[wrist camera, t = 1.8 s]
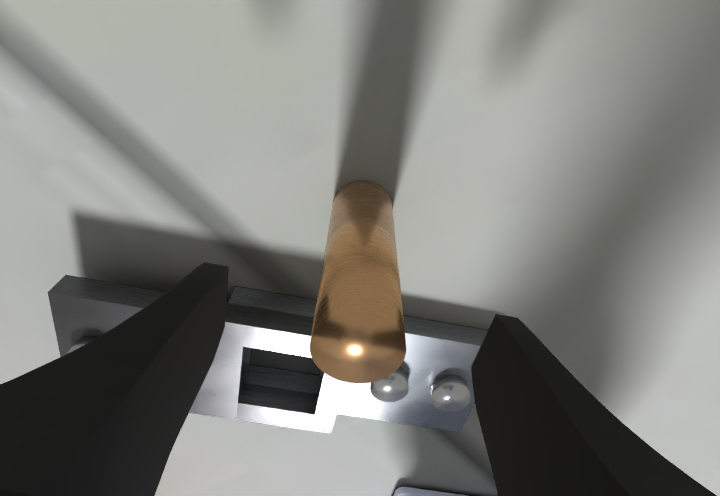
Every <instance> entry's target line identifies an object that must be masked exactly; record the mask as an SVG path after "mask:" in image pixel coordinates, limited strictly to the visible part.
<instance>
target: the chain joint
mask: <svg viewBox="0 0 720 496" xmlns="http://www.w3.org/2000/svg"><path fill="white" fill-rule="evenodd" d="M164 293H165V292H163V291H157V290H151V289H145V288H140V287H134V286H128V285H122V284H116V283H110V282H105V281H99V280H93V279H87V278H81V277H75V276H70V275H65V276H64V277H63V278H62V279H61V280H60V281H59V282H58V283H57V284H56V285H55V286H54V287H53V288H52V289H51V290H50V291H49V292H48V296H49V301H50V306H51V311H52V316H53V321H54V326H55V331H56V336H57V341H58V346H59V351H60V356H61V357H62V356H64V355H66V354H68V353H70V352H72V351H74V350H76V349H78V348H80V347H81V346H83V345H85V344H87V343H89V342H91V341H92V340H94V339H96V338H98V337H99V336H101V335H103V334H104V333H106V332H108V331H109V330H111V329H113V328H114V327H116V326H117V325H119V324H120V323H122V322H123V321H125V320H126V319H128V318H129V317H131V316H133V315H134V314H136V313H137V312H139V311H140V310H142V309H143V308H144V307H146V306H147V305H149V304H150V303H151V302H153V301H154V300H156V299H157V298H158V297H160V296H161V295H162V294H164ZM316 304H317V300H312V299H306V298H300V297H295V296H289V295H283V294H278V293H272V292H266V291H260V290H255V289H249V288H243V287H237V286H236V287H235V289H234V291H233V293H232V296H231V298H230V300H229V302H228V303H227V302H226V317H225V328H224V331H223V334H222V337H221V340H220V343H219V346H218V349H217V352H216V355H215V358H214V361H213V363H212V365H211V367H210V369H209V371H208V373H207V376H206V378H205V380H204V382H203V384H202V386H201V388H200V390H199V392H198V394H197V397H196V399H195V401H194V403H193V405H192V407H191V409H190V411H189V413H195V414H202V415H209V416H215V417H222V418H229V419H236V420H242V421H249V422H256V423H263V424H269V425H276V426H283V427H290V428H296V429H303V430H310V431H316V432H323V433H330V434H331V433H332V429H333V426H334V422H335V418H336V415H337V414H343V415H349V416H356V417H362V418H369V419H376V420H382V421H389V422H395V423H402V424H408V425H415V426H421V427H428V428H435V429H441V430H448V431H454V432H460V430H461V428H462V426H463V424H464V422H465V420H466V418H467V416H468V415H469V413H470V411H471V409H472V407H473V405H474V403H475V399H474V392H473V384H472V373H471V366H472V364H473V362H474V360H475V357H476V355H477V353H478V351H479V349H480V347H481V345H482V343H483V341H484V338H485V336H486V334H487V332H488V330H483V329H478V328H472V327H466V326H460V325H455V324H449V323H443V322H438V321H432V320H426V319H420V318H415V317H409V316H403V319H404V329H405V339H406V355H405V358H404V361H403V363H402V364H401V366H400V367H399V368H398V369H397V370H396V371H395V372H394V373H392V374H391V375H389V376H388V377H386V378H384V379H381V380H379V381H375V382H370V383H362V384H358V383H347V382H343V381H340V380H337V379H334V378H332V377H330V376H328V375H327V374H325V373H324V372H322V371H321V372H320V376H319V375H313V374H306V373H300V372H294V371H288V370H281V369H275V368H269V367H263V366H256V365H250V358H251V349H252V348H255V349H261V350H267V351H273V352H279V353H285V354H291V355H297V356H304V357H310V358H312V357H311V353H310V340H311V334H312V328H313V322H314V316H315V310H316Z"/></svg>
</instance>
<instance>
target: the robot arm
mask: <svg viewBox="0 0 720 496" xmlns="http://www.w3.org/2000/svg"><path fill="white" fill-rule="evenodd" d="M228 268H229V267H227V266H221V265H216V264H210V263H203V264H202V265H200V266H199V267H197V268H196V269H195V270H194V271H192V272H191V273H190V274H189V275H187V276H186V277H185V278H183V279H182V280H181V281H180V282H178V283H177V284H176V285H174V286H173V287H172V288H171V289H169V290H168V291H167V292H165V293H164V294H162V295H161V296H160V297H158V298H157V299H156V300H154V301H153V302H151V303H150V304H149V305H147V306H146V307H144V308H143V309H142V310H140V311H139V312H137V313H136V314H134V315H133V316H131V317H129V318H128V319H126V320H125V321H123V322H122V323H120V324H119V325H117V326H116V327H114V328H113V329H111V330H109V331H108V332H106V333H104V334H103V335H101V336H99V337H98V338H96V339H94V340H92V341H91V342H89V343H87V344H85V345H83V346H81V347H80V348H78V349H76V350H74V351H72V352H70V353H68V354H66V355H64V356H62V357H60V358H58V359H56V360H54V361H52V362H50V363H47V364H45V365H43V366H41V367H39V368H37V369H34V370H32V371H30V372H28V373H26V374H24V375H22V376H19V377H17V378H15V379H13V380H10V381H8V382H5V383H3V384H1V385H0V496H154V495H155V492H156V490H157V487H158V484H159V482H160V479H161V476H162V473H163V471H164V468H165V465H166V462H167V460H168V457H169V455H170V452H171V450H172V448H173V445H174V443H175V441H176V438H177V436H178V434H179V432H180V430H181V428H182V426H183V424H184V422H185V419H186V417H187V415H188V413H189V411H190V409H191V407H192V405H193V403H194V401H195V399H196V397H197V394H198V392H199V390H200V388H201V386H202V384H203V382H204V380H205V378H206V376H207V373H208V371H209V369H210V367H211V365H212V363H213V361H214V358H215V355H216V352H217V349H218V346H219V343H220V340H221V337H222V334H223V331H224V328H225V317H226V301H227V284H228ZM471 373H472V384H473V392H474V399H475V405H476V409H477V413H478V417H479V421H480V425H481V429H482V433H483V437H484V441H485V444H486V448H487V452H488V456H489V460H490V464H491V467H492V471H493V475H494V479H495V483H496V487H497V492H498V496H716V495H715V494H713V493H712V492H711V491H709V490H708V489H706V488H705V487H703V486H702V485H701V484H699V483H698V482H696V481H695V480H694V479H692V478H691V477H690V476H688V475H687V474H686V473H684V472H683V471H682V470H680V469H679V468H678V467H676V466H675V465H674V464H672V463H671V462H669V461H668V460H667V459H665V458H664V457H663V456H662V455H660V454H659V453H658V452H657V451H655V450H654V449H653V448H652V447H650V446H649V445H648V444H647V443H645V442H644V441H643V440H642V439H641V438H639V437H638V436H637V435H636V434H635V433H634V432H632V431H631V430H630V429H629V428H628V427H626V426H625V425H624V424H623V423H622V422H621V421H620V420H618V419H617V418H616V417H615V416H614V415H613V414H612V413H611V412H610V411H608V410H607V409H606V408H605V407H604V406H603V405H602V404H601V403H600V402H599V401H598V400H597V399H596V398H595V397H594V396H593V395H592V394H591V393H590V392H589V391H588V390H587V389H586V388H585V387H584V386H583V385H582V384H581V383H580V382H579V381H578V380H577V379H576V378H575V377H574V376H573V375H572V374H571V373H570V372H569V371H568V370H567V369H566V368H565V367H564V366H563V365H562V364H561V363H560V362H559V361H558V360H557V359H556V357H555V356H554V355H553V354H552V353H551V352H550V351H549V350H548V349H547V348H546V347H545V346H544V345H543V344H542V342H541V341H540V340H539V339H538V338H537V337H536V336H535V335H534V334H533V333H532V332H531V331H530V330H529V329H528V328H527V327H526V326H525V325H524V324H523V323H522V322H521V321H520V320H519V319H518V318H515V317H509V316H503V315H498V314H496V315H495V317H494V320H493V322H492V324H491V326H490V328H489V330H488V332H487V334H486V336H485V338H484V341H483V343H482V345H481V347H480V349H479V351H478V353H477V355H476V357H475V360H474V362H473V364H472V366H471ZM393 496H467V495H460V494H453V493H446V492H439V491H431V490H424V489H417V488H410V487H399V488H398V489H397V490H396V491H395V493H394V495H393Z"/></svg>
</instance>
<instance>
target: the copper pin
mask: <svg viewBox="0 0 720 496" xmlns="http://www.w3.org/2000/svg"><path fill="white" fill-rule="evenodd" d="M310 353H311V357H312V359H313V361H314V363H315V364H316V365H317V367H318V368H319V369H320V370H321V371H322V372H324V373H325V374H327V375H328V376H330V377H332V378H334V379H337V380H340V381H343V382H347V383H358V384H362V383H370V382H375V381H379V380H381V379H384V378H386V377H388V376H389V375H391V374H392V373H394V372H395V371H396V370H397V369H398V368H399V367H400V366H401V364H402V363H403V361H404V358H405V355H406V339H405V329H404V319H403V309H402V299H401V289H400V279H399V269H398V259H397V249H396V240H395V230H394V220H393V210H392V202H391V199H390V197H389V195H388V193H387V192H386V191H385V190H384V189H383V188H382V187H381V186H379V185H377V184H375V183H373V182H369V181H356V182H352V183H349V184H347V185H346V186H344V187H343V188H342V189H341V190H340V191H339V192H338V193H337V195H336V196H335V199H334V202H333V207H332V213H331V219H330V225H329V231H328V237H327V243H326V249H325V255H324V261H323V267H322V274H321V280H320V286H319V292H318V298H317V304H316V310H315V316H314V322H313V328H312V334H311V340H310Z"/></svg>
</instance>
